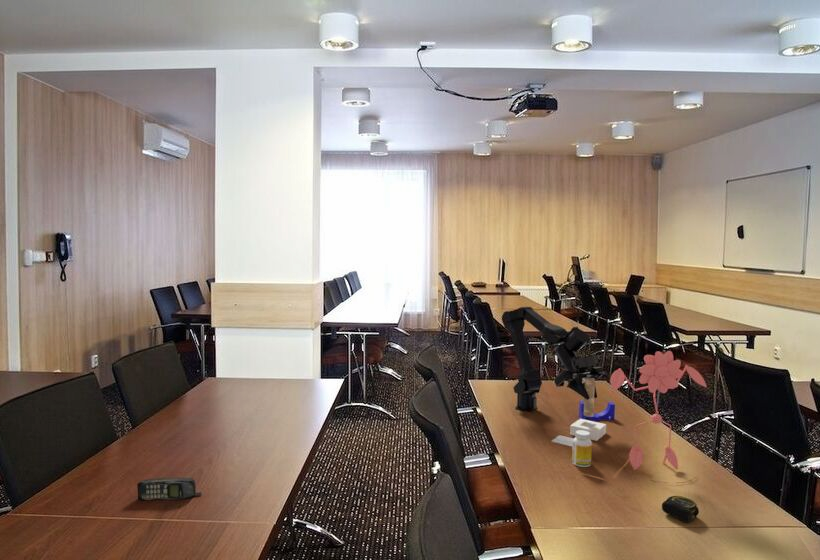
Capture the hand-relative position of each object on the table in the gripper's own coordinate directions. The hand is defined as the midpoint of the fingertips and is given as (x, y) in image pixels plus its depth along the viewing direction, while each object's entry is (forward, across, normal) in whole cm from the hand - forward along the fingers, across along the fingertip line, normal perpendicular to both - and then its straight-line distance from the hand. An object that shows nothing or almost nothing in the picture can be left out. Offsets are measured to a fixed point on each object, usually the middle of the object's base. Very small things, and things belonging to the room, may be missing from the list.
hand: (592, 398), depth 181 cm
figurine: (+30, -5, -12) cm, 33 cm away
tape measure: (+44, -21, -25) cm, 55 cm away
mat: (+10, -11, +9) cm, 17 cm away
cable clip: (+1, +16, +18) cm, 24 cm away
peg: (+3, 0, +5) cm, 6 cm away
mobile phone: (-2, -128, +21) cm, 130 cm away
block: (+8, 0, +10) cm, 13 cm away
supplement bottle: (+20, -20, -2) cm, 28 cm away
